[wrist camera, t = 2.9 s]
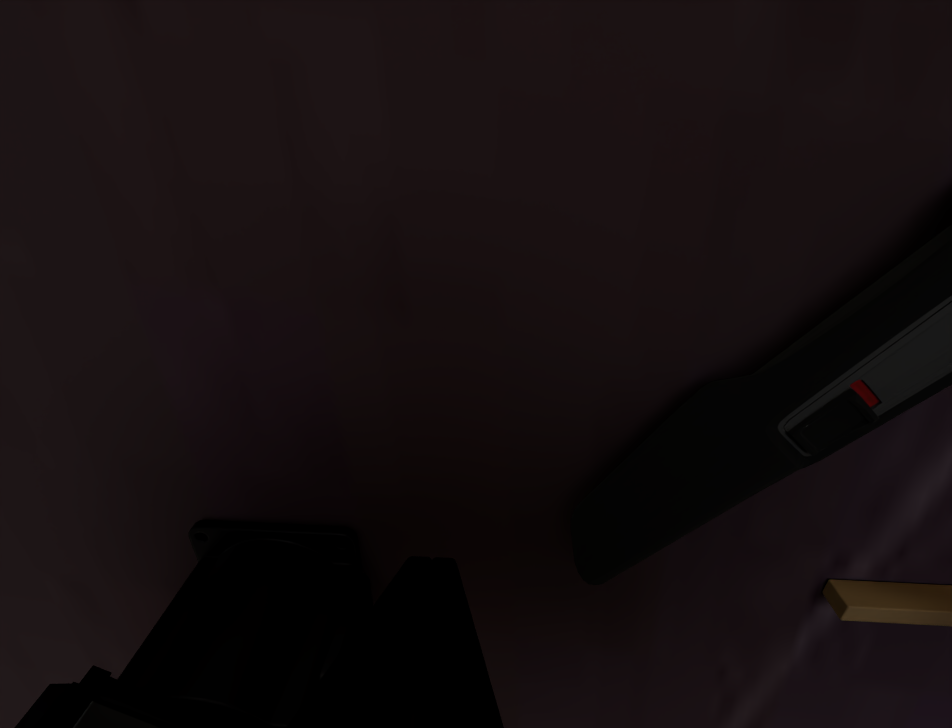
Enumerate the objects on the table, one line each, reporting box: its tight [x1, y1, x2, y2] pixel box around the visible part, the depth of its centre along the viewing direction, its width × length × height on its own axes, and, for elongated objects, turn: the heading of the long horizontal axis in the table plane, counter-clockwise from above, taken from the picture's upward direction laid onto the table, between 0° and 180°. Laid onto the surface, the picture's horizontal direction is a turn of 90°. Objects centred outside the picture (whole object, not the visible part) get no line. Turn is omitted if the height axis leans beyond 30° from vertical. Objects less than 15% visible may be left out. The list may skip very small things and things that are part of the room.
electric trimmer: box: [571, 224, 952, 585], centre depth 13 cm, size 4×16×3 cm, turn 138°
